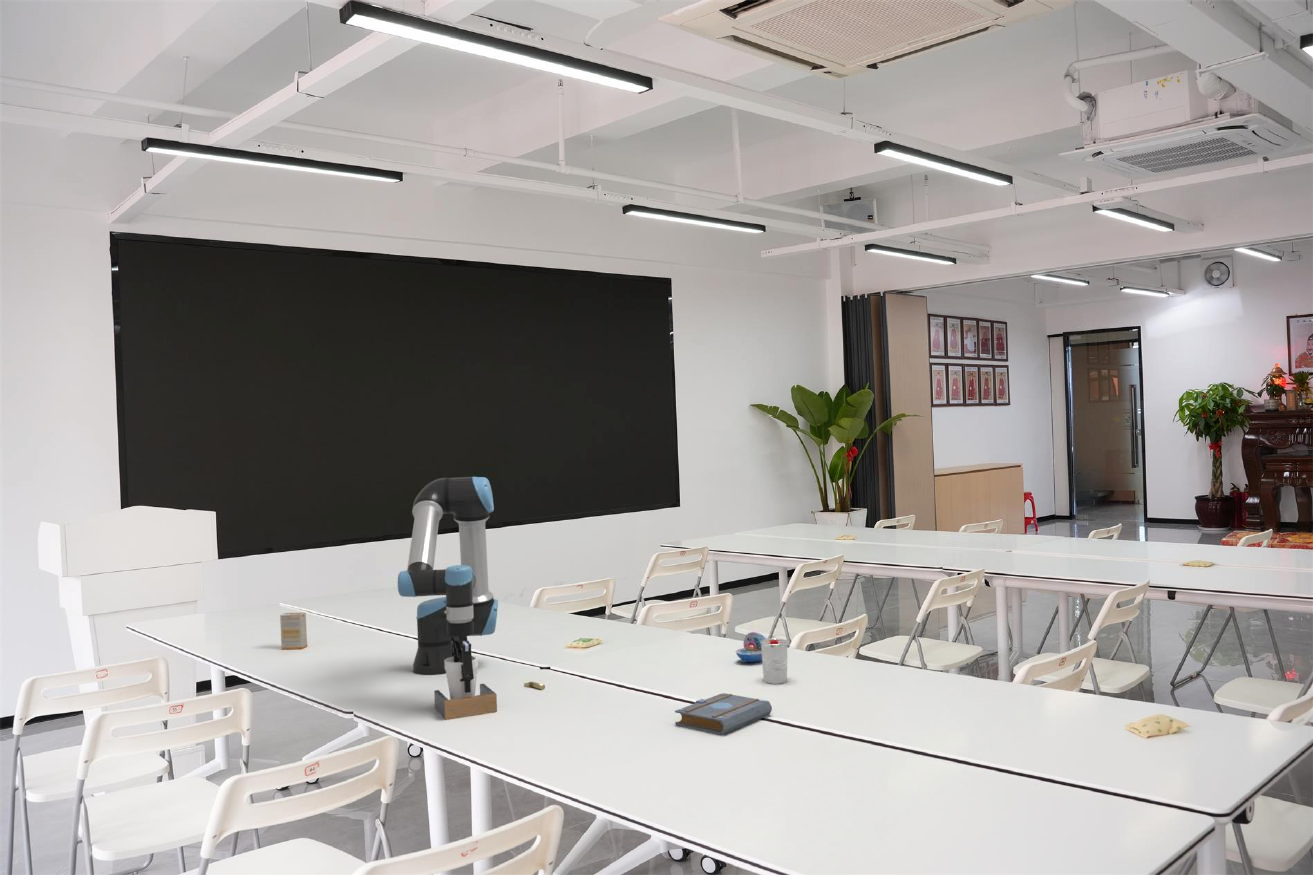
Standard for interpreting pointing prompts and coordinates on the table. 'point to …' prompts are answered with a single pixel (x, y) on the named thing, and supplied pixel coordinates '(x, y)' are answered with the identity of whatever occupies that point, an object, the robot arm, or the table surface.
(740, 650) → the cell model
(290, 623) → the supplement box
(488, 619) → the robot arm
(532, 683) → the brass key
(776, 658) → the ribbed metal can
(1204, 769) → the table surface
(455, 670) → the foam cup
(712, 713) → the book
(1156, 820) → the table surface
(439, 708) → the channel
